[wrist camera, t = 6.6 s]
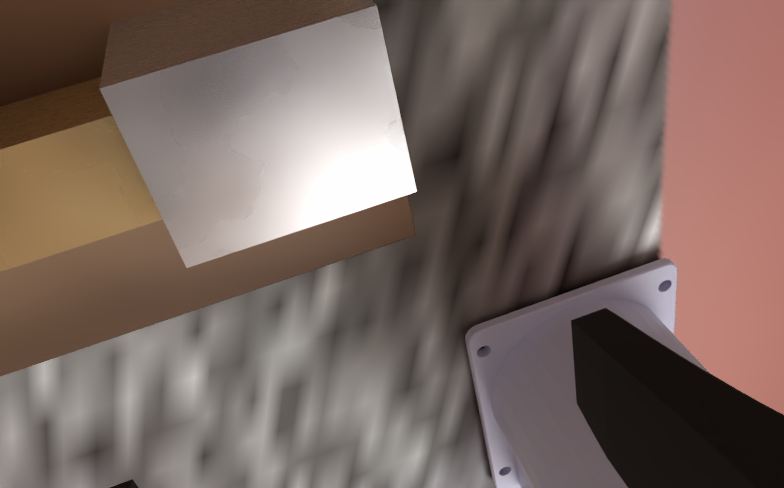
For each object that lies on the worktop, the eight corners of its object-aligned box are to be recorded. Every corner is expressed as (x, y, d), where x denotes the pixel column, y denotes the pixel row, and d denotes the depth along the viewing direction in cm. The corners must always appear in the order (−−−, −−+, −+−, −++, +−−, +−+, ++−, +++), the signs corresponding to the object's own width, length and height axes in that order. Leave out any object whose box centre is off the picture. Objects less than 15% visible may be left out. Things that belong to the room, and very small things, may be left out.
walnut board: (406, 217, 21) (416, 234, 20) (-98, 387, 20) (-109, 413, 19) (294, -261, 14) (303, -264, 13) (-507, -58, 13) (-552, -47, 12)
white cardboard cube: (370, 117, 18) (416, 191, 15) (180, 178, 18) (186, 268, 14) (331, -42, 16) (376, 5, 12) (110, 22, 15) (99, 88, 12)
